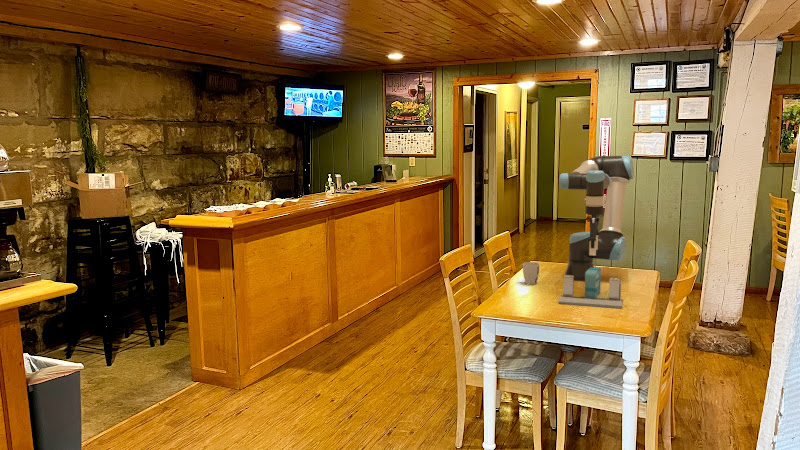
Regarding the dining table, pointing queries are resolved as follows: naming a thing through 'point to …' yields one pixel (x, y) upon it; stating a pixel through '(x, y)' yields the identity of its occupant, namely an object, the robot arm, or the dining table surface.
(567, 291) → the rail plate
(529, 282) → the cup
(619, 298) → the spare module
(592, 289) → the data package
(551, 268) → the dining table surface
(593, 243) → the robot arm
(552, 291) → the dining table surface
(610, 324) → the dining table surface
